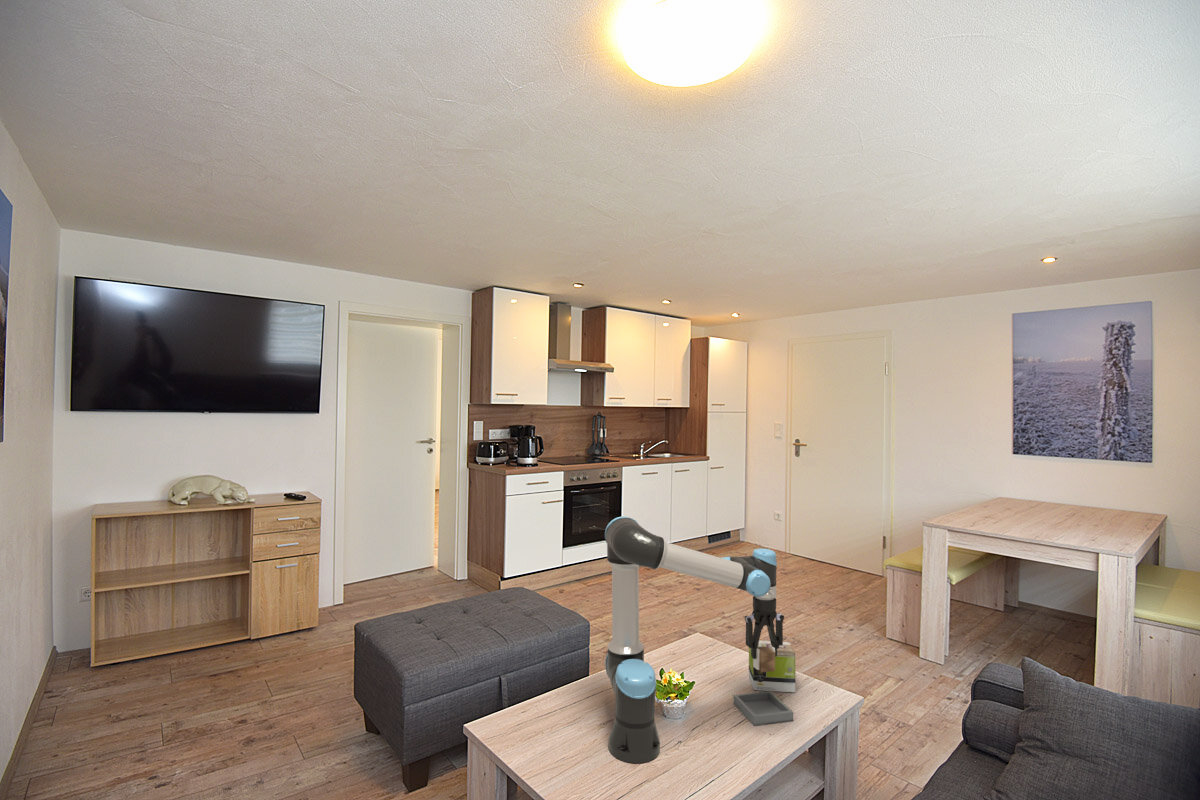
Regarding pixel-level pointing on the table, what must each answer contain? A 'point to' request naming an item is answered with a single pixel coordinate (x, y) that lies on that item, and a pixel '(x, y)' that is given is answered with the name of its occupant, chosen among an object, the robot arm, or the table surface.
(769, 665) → the walnut block
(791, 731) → the table surface
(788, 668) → the tea box
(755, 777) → the table surface
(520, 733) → the table surface
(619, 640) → the robot arm
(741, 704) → the tray
